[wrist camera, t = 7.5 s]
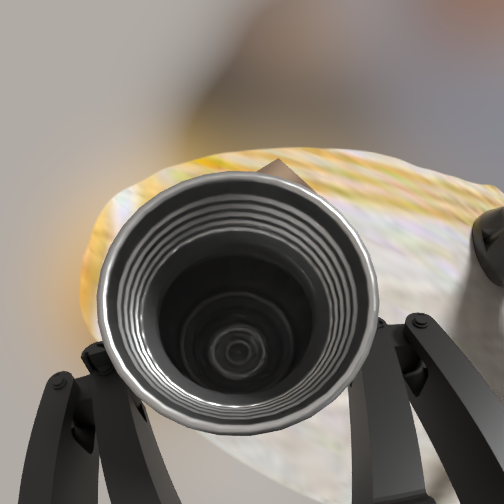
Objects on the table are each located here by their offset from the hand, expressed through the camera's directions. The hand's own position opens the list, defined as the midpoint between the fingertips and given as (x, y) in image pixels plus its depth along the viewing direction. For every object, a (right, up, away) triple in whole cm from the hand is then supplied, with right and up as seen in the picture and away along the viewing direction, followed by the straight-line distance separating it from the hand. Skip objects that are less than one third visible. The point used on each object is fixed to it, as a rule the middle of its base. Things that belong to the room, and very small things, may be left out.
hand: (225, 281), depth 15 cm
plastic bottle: (0, -7, +7) cm, 9 cm away
